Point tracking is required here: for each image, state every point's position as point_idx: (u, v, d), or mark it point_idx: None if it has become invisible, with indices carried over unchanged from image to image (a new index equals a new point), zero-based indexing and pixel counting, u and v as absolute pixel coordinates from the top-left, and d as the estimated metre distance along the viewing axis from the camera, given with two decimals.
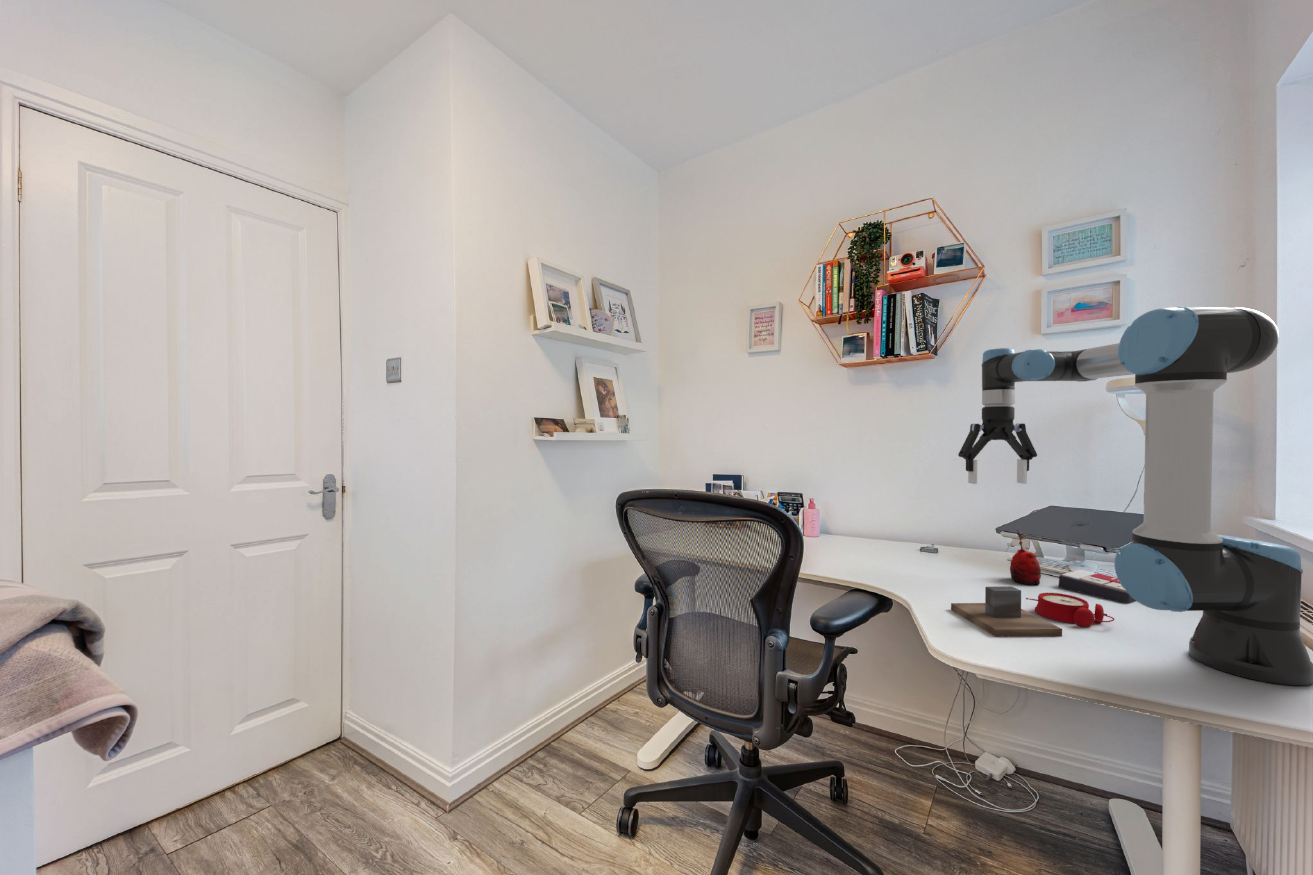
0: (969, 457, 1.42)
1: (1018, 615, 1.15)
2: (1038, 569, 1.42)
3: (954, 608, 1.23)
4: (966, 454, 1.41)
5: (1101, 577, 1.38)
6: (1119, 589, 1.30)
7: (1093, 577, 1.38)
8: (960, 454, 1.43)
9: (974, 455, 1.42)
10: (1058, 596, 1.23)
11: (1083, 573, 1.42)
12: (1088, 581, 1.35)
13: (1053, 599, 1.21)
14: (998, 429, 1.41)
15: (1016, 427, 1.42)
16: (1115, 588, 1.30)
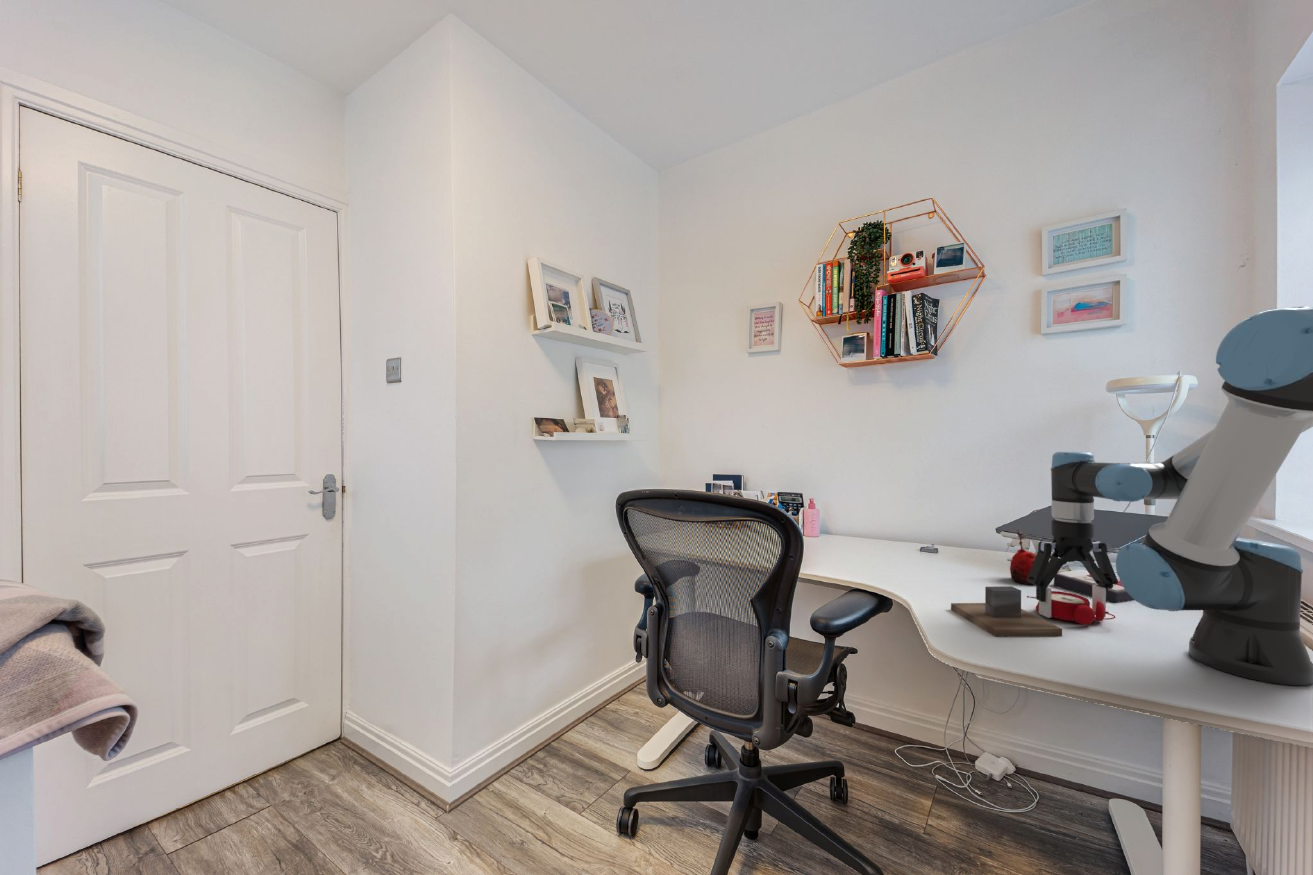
0: (1041, 585, 1.17)
1: (1018, 615, 1.15)
2: None
3: (954, 608, 1.23)
4: (1038, 581, 1.17)
5: None
6: (1108, 588, 1.30)
7: (1089, 577, 1.38)
8: (1030, 580, 1.18)
9: (1047, 582, 1.17)
10: (1059, 594, 1.23)
11: (1082, 573, 1.42)
12: (1080, 580, 1.36)
13: (1054, 597, 1.21)
14: (1074, 549, 1.16)
15: (1095, 546, 1.18)
16: None
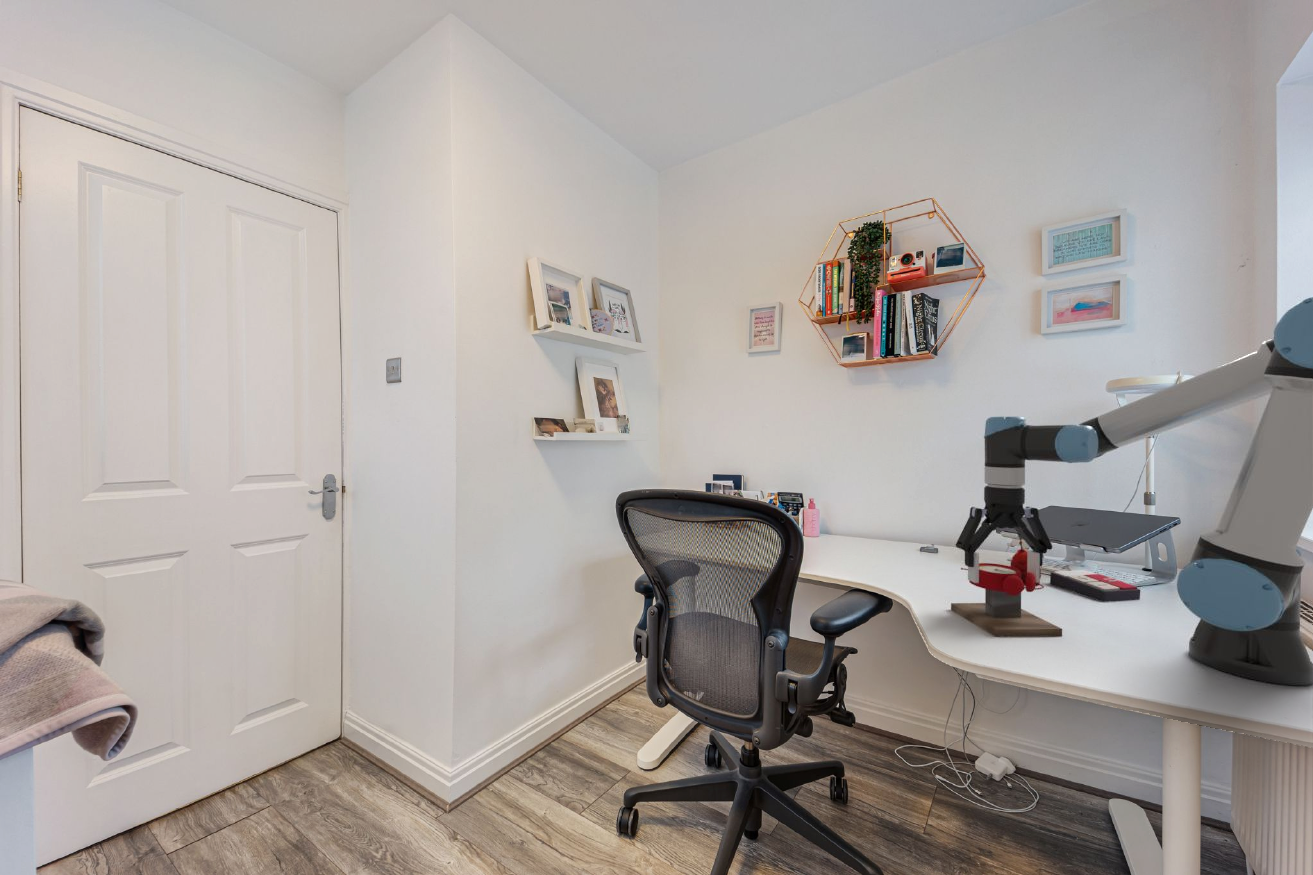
0: (969, 550, 1.15)
1: (1018, 615, 1.15)
2: None
3: (954, 608, 1.23)
4: (965, 546, 1.15)
5: (1095, 577, 1.38)
6: (1098, 587, 1.31)
7: (1085, 576, 1.39)
8: (958, 545, 1.16)
9: (975, 547, 1.15)
10: (994, 566, 1.21)
11: (1081, 572, 1.42)
12: (1073, 579, 1.37)
13: (987, 569, 1.19)
14: (1004, 516, 1.14)
15: (1027, 512, 1.15)
16: (1094, 586, 1.32)
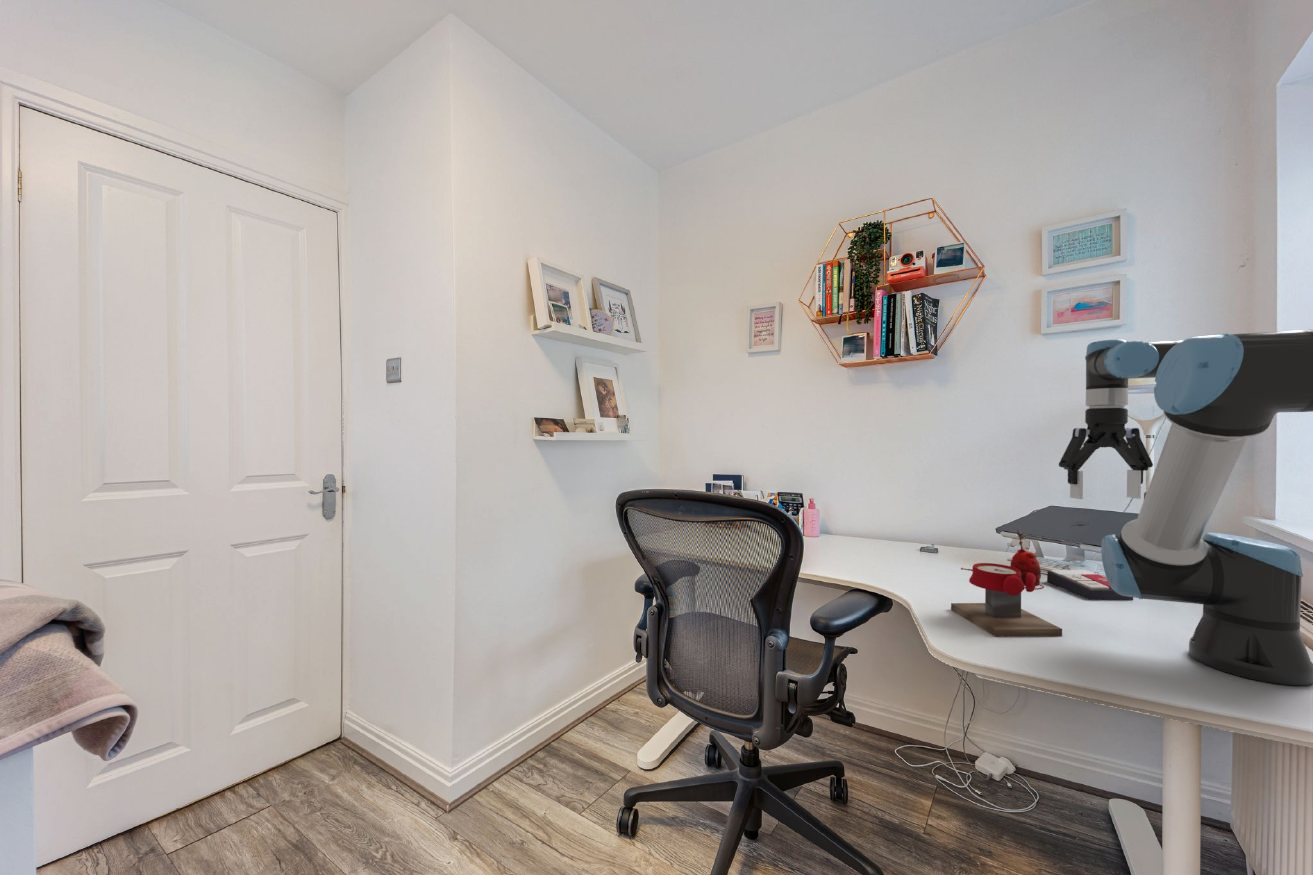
0: (1073, 467, 1.21)
1: (1018, 615, 1.15)
2: (1038, 569, 1.42)
3: (954, 608, 1.23)
4: (1070, 464, 1.21)
5: (1091, 576, 1.38)
6: (1085, 586, 1.32)
7: (1080, 575, 1.39)
8: (1062, 464, 1.22)
9: (1079, 465, 1.21)
10: (994, 566, 1.21)
11: (1079, 572, 1.42)
12: (1066, 577, 1.39)
13: (987, 569, 1.19)
14: (1108, 435, 1.20)
15: (1128, 432, 1.21)
16: (1083, 584, 1.33)
